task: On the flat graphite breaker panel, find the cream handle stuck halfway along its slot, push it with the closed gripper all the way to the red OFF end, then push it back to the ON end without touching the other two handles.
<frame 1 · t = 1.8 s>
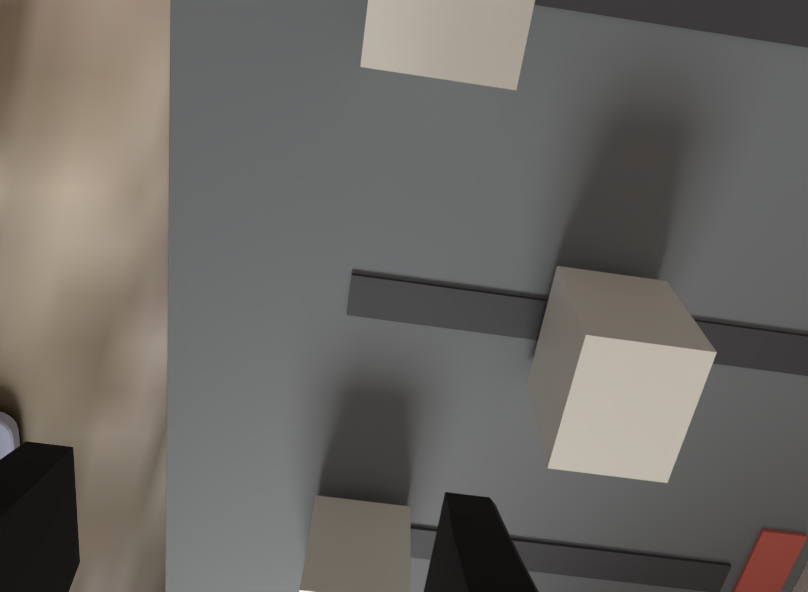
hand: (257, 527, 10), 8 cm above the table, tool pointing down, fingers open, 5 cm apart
handle 1: (352, 591, 18), point 3 cm above the table, slide at 0.0 cm
handle mid: (610, 370, 16), point 3 cm above the table, slide at 4.5 cm
breaker panel: (540, 300, 18), on the table
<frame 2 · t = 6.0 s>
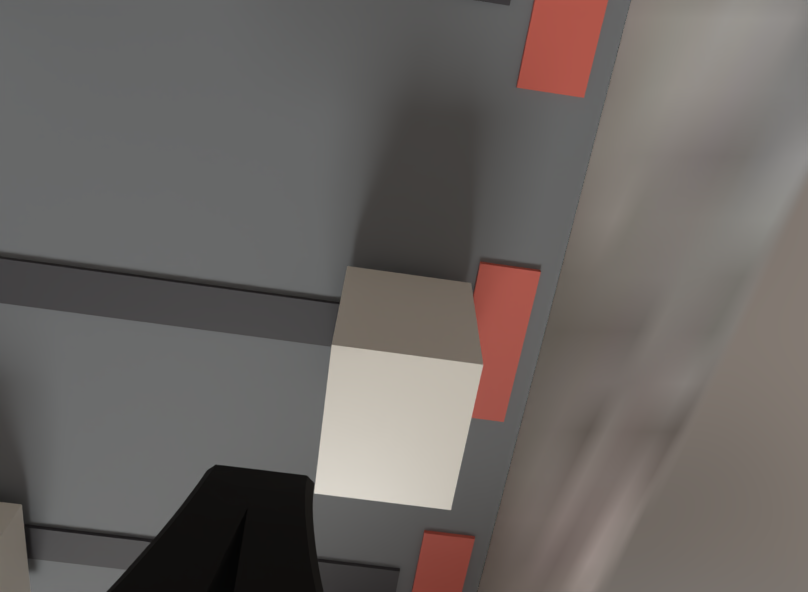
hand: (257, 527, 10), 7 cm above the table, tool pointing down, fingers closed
handle mid: (396, 382, 14), point 3 cm above the table, slide at 9.1 cm
breaker panel: (141, 274, 16), on the table
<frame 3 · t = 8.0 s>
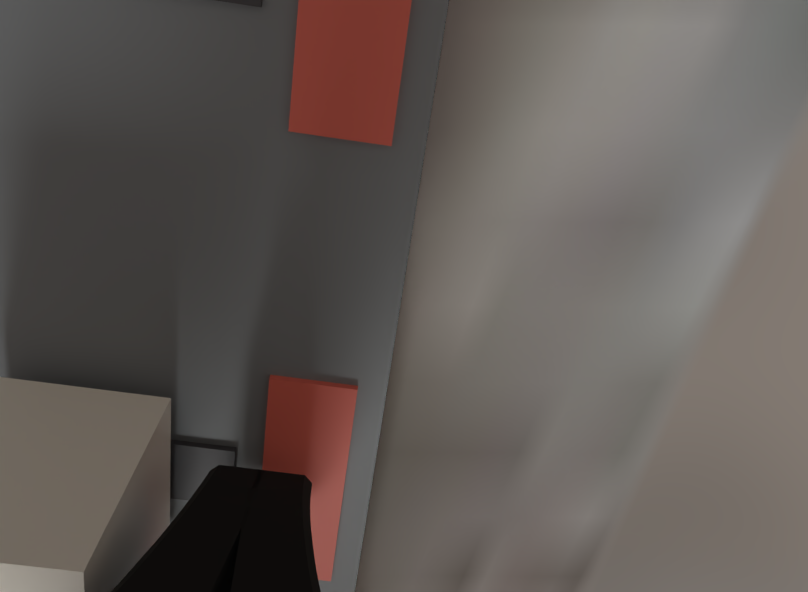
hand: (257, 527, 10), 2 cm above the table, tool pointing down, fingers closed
handle mid: (36, 556, 9), point 3 cm above the table, slide at 8.0 cm, touching gripper
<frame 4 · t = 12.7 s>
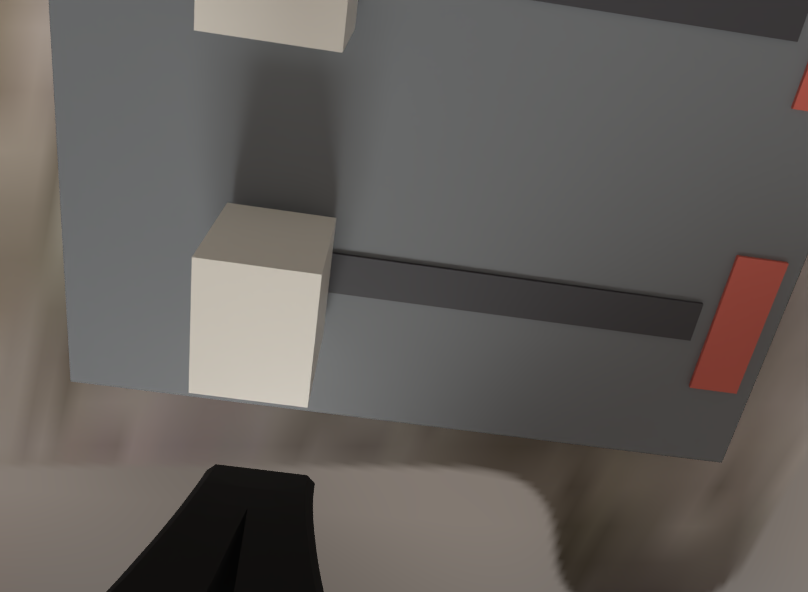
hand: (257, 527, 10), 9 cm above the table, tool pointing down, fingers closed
handle 1: (265, 301, 16), point 3 cm above the table, slide at 0.0 cm
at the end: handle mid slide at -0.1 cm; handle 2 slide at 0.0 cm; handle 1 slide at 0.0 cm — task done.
